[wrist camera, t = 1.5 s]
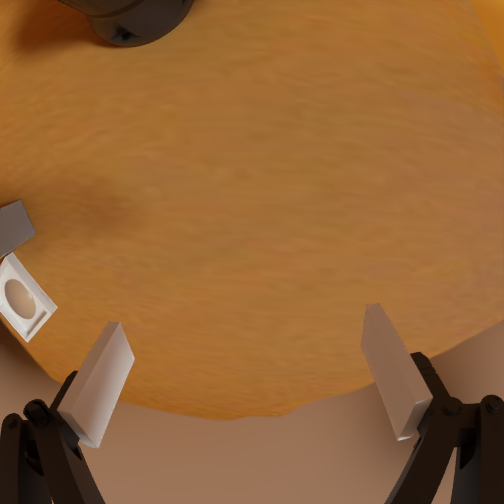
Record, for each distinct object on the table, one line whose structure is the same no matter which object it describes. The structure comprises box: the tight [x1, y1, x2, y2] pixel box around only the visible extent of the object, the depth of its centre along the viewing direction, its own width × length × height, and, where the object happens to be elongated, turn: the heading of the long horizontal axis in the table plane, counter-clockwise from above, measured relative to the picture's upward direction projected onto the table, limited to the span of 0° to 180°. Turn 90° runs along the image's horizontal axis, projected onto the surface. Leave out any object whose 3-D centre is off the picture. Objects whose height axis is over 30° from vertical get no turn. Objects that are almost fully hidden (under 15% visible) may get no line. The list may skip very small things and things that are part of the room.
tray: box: [0, 252, 58, 343], centre depth 46 cm, size 14×14×2 cm
